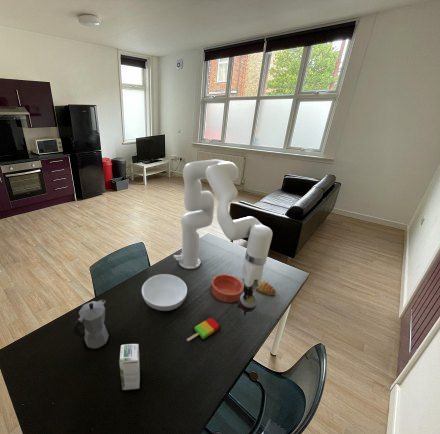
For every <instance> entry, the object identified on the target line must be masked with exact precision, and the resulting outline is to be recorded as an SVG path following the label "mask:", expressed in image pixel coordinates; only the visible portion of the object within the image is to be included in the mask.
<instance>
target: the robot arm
mask: <svg viewBox="0 0 440 434" xmlns="http://www.w3.org/2000/svg"><path fill="white" fill-rule="evenodd" d="M239 173H240V172H239V168H238V167H237V164H235V163H233V162H232V161H226V160H222V159H206V160H196V161H191V162H188V163H186V164H185V165H184V167H183V169H182V177H183V182H184V183H183V184H184V195H183V197H184V200H183V201H184V203H183V204H184V209H185V210H186V211H187V213H184V214H183V215H182V216H181V218H180V224H181V253H180V254H179V255H176V254H174V255H173V259H175V261H176V262H178V265H179V266H180V267H182V268H184V269H186V270H194V269H198V268H199V267H200V265H201V259H200V258H199V249H200V239H201V237H200V234H199V232H197V230H199V229H203V228H206V227H207V228H208V227H209V226H211V225H212V223H213V221H214V213H215V211H214V210H215V198H214V195H215V197H216V199H217V201H218V203H217V207H216V219H217V223H218V225H219V227H220V229H221V231H222V233H223V235H224V236H225V238H227V239H228V240H230V241H238V240H242V239H245V238H246V239H247V238H248V239H247V245H246V249H245V254H244V255H245V256H244V259H243V261H242V262H243V263H242V267H241V270H240V271H241V276H242V278H243V279H244V281H245V283H243V292H242V293H243V294H244V295H247V296H252V295H253V294H254V293H255V292H257V289H256V287H259V286H260V283H261V280H262V279H263V272H264V266H265V265H266V263H267V259H268V255H269V250H270V248H271V247H270V246H271V243H272V239H273V235H274V234H273V230H272V229H271V228H270V227H269V226H266V225H264V224H263V223H261V222H260V221H259V220H258V218H256V217H254V216H246V217H241V218H238V219H233V218H232V216H231V215H230V212H229V204H230V203H232V202H233V201H234V200H235V199H236V198H237V197H238V194H239V192H238V189H237V188H236V186H235V184H234V181H236V180H237V179H238V177H239ZM201 180H207V183H208V184H209V186H210V188H211V190H212V192H213V193H214V195H213V193H212V192H211V191H209V190H202V189H203V184H202V182H201ZM243 279H242V280H243ZM244 281H243V282H244ZM245 284H246V286H247V287H245Z"/></svg>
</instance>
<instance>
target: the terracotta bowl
mask: <svg viewBox="0 0 440 434" xmlns="http://www.w3.org/2000/svg"><path fill="white" fill-rule="evenodd" d="M243 288H244V283H243V282H242V281H241V280H240V279H239V278H238V277H236V276H234V275H232V274H225V273H222V274H217V275H215V276H214V277H213V278H212V279H211V285H210V291H211V294H212V295H213V296H214V297H215V298H216V299H217V300H219V301H220V302H223V303H230V304H231V303H236V302H238V301H239V298H240V296H241V295H242V294H243V293H244V292H243Z"/></svg>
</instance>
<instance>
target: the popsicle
mask: <svg viewBox="0 0 440 434" xmlns="http://www.w3.org/2000/svg"><path fill="white" fill-rule="evenodd" d="M219 329H220V324H219V323H218V322H217V321H216V320H215V319H214V318H212V317H209V318H207V319H206V320H204V321H202V322H200V323H199V324H198V325H196V326H194V331H195V332H196V333H194V334H192V335H191V336H190V337H188V338H186V341H187V342H190V341H192V340H193V339H195V338H196V337H198V336H199V337H200V338H201V339H202V340H204V339H206V338H208V337H209V336H210V335H213V334H214V333H216V332H217V331H218V330H219Z"/></svg>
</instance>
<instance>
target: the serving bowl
mask: <svg viewBox="0 0 440 434" xmlns="http://www.w3.org/2000/svg"><path fill="white" fill-rule="evenodd" d="M141 295H142V298H143V301H144V302H145V303H146V304H147V306H149V307H150V308H151V309H154V310H155V311H159V312H160V311H161V312H169V311H173V310H175V309H177V308H178V307H180V306H181V305H182V304H183V303H184V301H185V300H186V298H187V295H188V287H187V284H186V283H185V281H184V280H183V279H182V278H180V277H179V276H176V275H174V274H168V273H161V274H160V273H159V274H156V275H153V276H150V277H149V278H148V279H146V280H145V282H144V283H143V284H142V286H141Z"/></svg>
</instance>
